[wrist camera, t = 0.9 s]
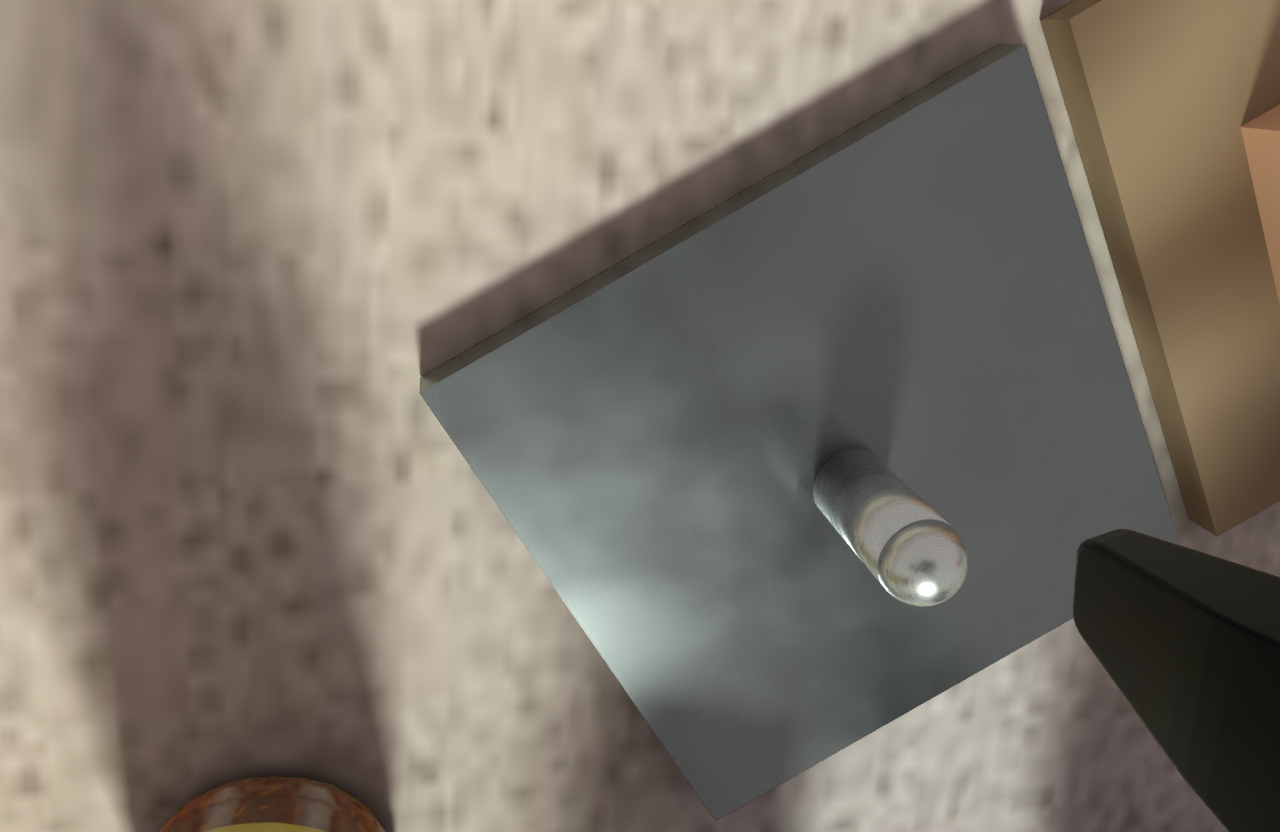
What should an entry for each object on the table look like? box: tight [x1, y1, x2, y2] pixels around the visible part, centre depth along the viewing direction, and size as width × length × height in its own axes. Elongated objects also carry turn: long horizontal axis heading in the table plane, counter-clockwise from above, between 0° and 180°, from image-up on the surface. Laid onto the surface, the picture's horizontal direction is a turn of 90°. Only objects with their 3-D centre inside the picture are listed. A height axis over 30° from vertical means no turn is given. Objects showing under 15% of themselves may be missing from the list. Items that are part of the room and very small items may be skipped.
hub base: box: [420, 44, 1180, 821], centre depth 20 cm, size 14×14×5 cm
